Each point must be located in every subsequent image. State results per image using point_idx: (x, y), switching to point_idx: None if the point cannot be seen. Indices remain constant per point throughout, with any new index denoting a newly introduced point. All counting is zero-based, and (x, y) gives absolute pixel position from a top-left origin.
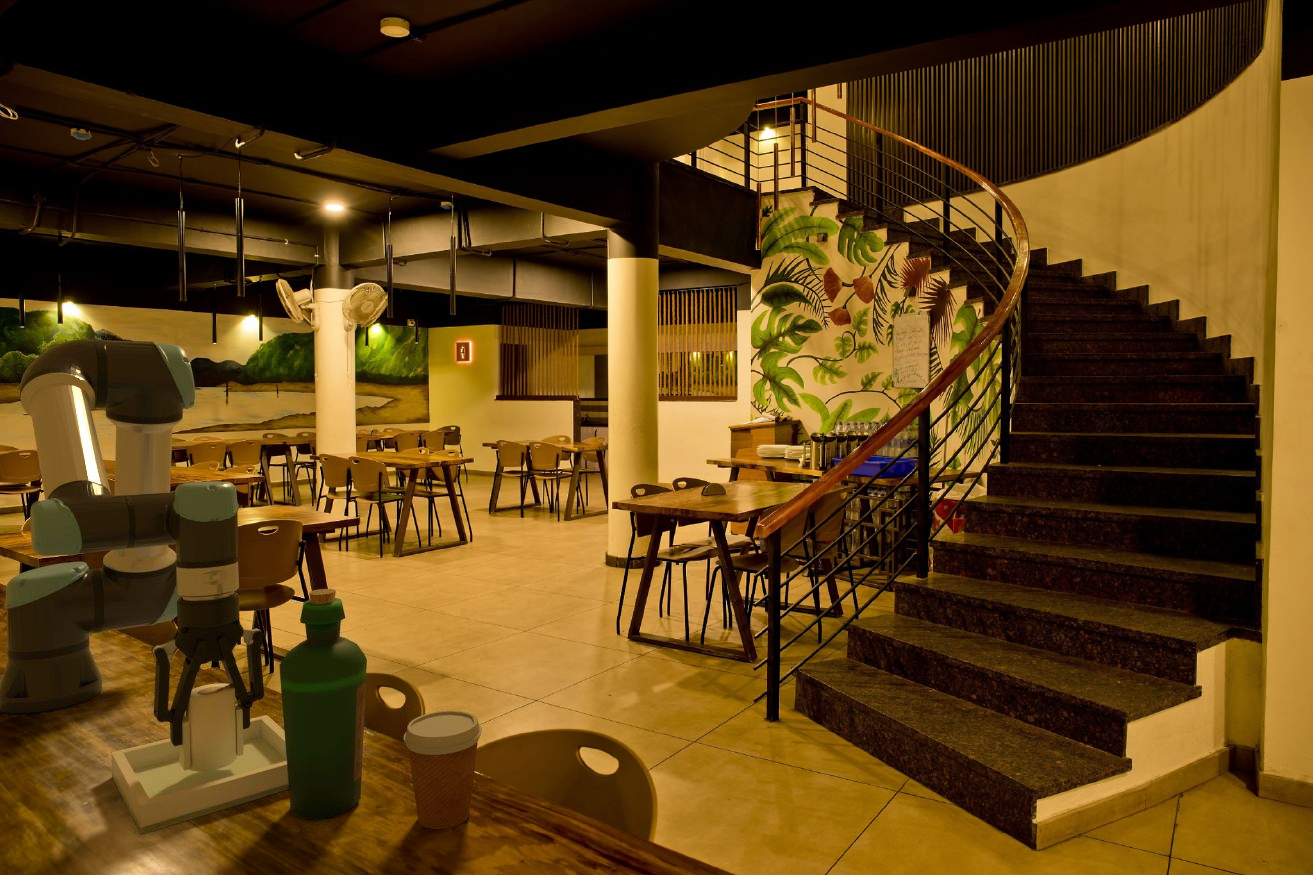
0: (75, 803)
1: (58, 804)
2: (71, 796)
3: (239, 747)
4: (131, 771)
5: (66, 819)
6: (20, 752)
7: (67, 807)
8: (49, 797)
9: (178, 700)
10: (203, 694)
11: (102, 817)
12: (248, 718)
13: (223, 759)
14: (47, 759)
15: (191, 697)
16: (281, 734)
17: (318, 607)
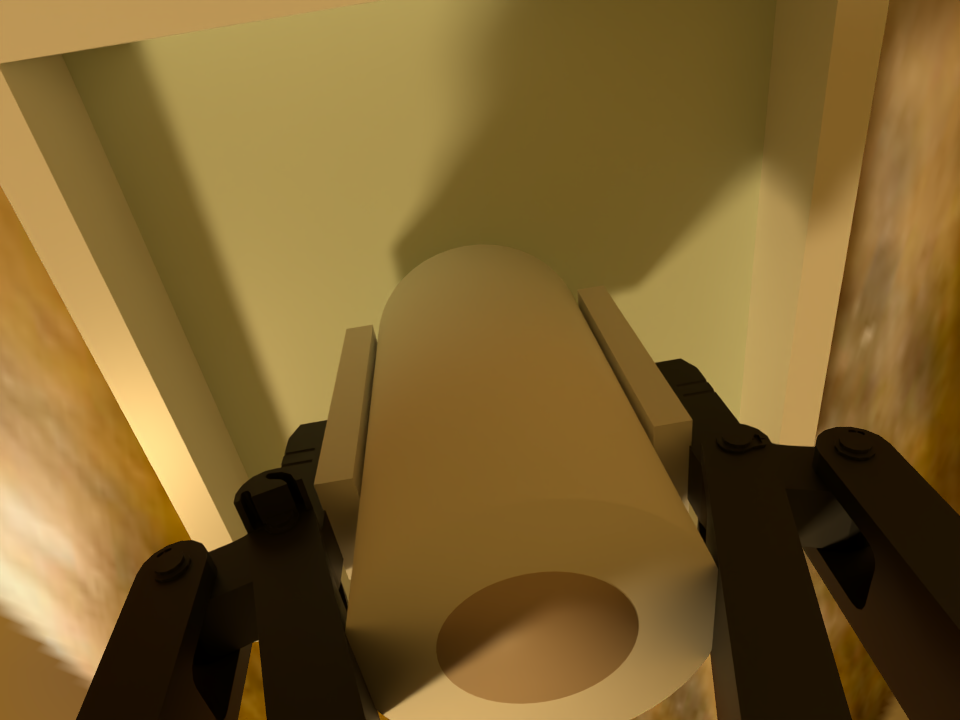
0: (891, 347)
1: (928, 366)
2: (881, 405)
3: (360, 346)
4: (798, 347)
5: (956, 232)
6: (874, 705)
7: (918, 329)
8: (926, 429)
9: (799, 550)
10: (605, 588)
11: (869, 176)
12: (291, 460)
13: (440, 268)
14: (843, 652)
15: (700, 568)
16: (165, 434)
17: None
